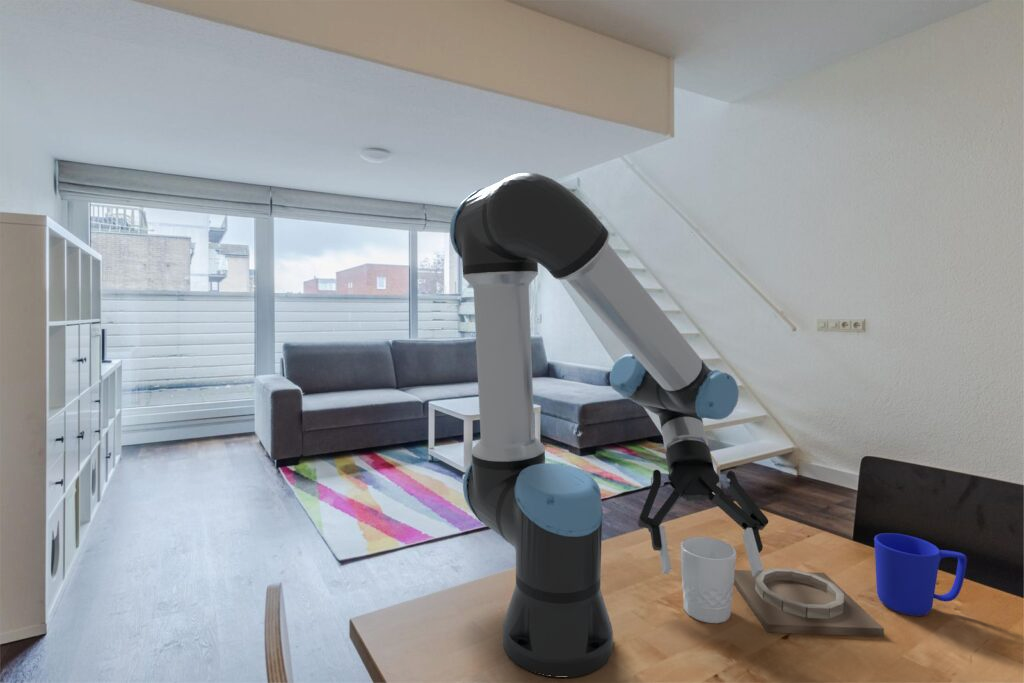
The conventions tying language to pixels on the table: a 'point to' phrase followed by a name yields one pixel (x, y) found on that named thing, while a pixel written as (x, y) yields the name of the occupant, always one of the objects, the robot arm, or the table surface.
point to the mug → (912, 573)
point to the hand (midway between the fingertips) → (712, 572)
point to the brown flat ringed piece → (803, 604)
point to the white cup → (707, 578)
